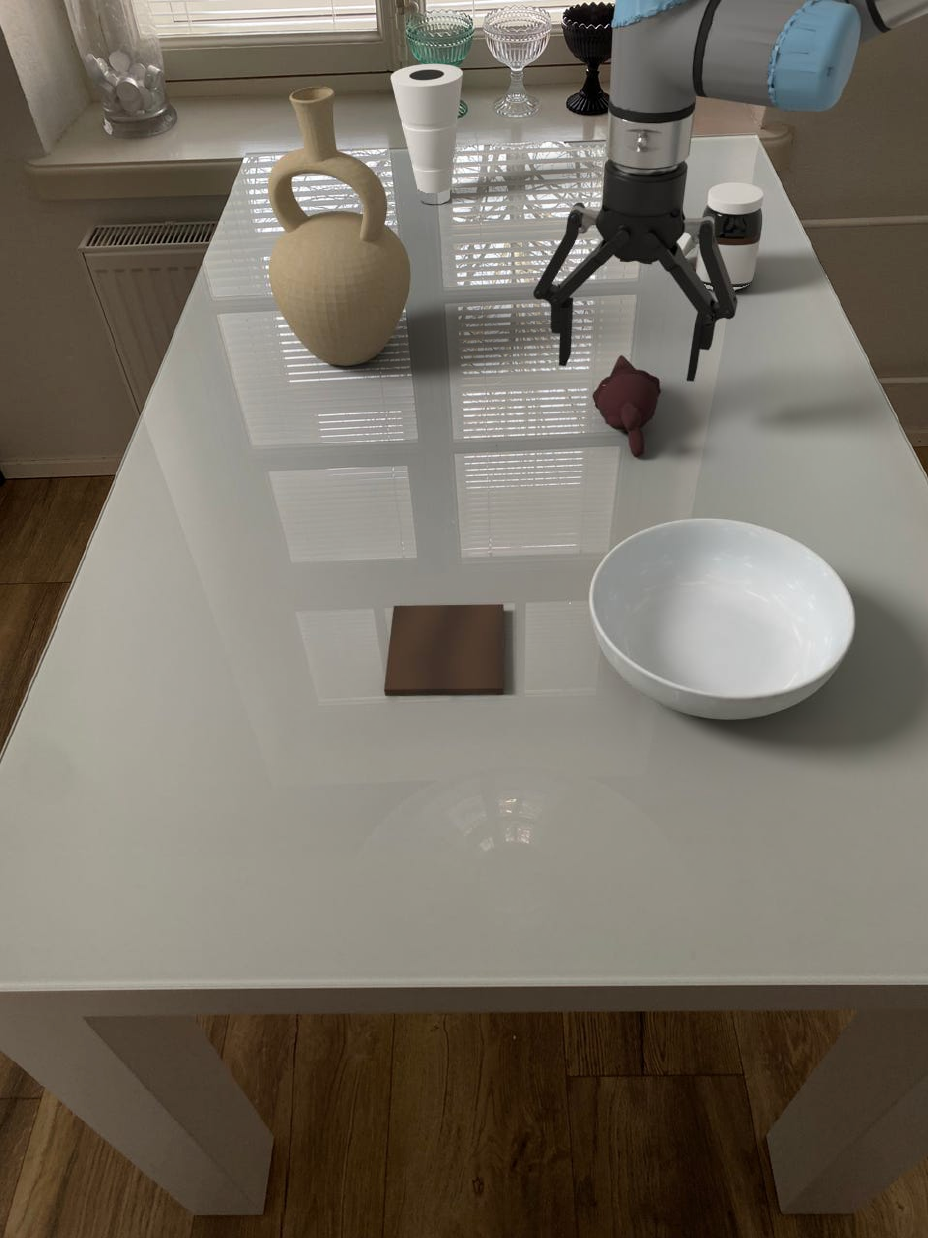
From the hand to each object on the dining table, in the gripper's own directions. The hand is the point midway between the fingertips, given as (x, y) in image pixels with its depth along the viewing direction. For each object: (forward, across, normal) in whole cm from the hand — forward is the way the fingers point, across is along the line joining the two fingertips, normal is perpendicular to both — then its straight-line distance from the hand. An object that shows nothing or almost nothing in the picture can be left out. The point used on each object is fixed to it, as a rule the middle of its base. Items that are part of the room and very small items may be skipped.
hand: (627, 367), depth 102 cm
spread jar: (+7, +5, +37) cm, 38 cm away
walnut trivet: (+7, -9, -38) cm, 40 cm away
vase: (+8, -36, +8) cm, 37 cm away
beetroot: (+7, 0, 0) cm, 7 cm away
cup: (+8, -40, +56) cm, 69 cm away
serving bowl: (+7, +13, -33) cm, 36 cm away
